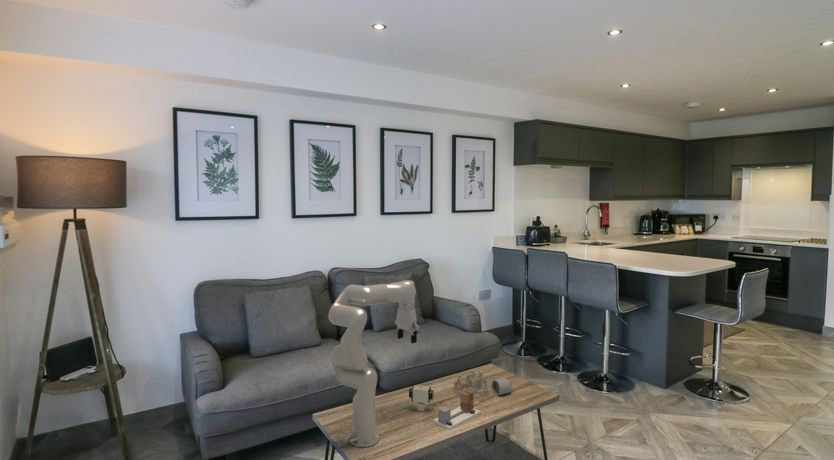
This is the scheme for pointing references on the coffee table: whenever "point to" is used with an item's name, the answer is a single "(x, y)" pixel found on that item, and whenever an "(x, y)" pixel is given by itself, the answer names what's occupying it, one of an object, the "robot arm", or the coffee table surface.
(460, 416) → the board
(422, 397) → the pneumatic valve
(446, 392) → the coffee table surface
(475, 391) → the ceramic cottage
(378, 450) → the coffee table surface
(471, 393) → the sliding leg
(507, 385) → the ceramic mug
